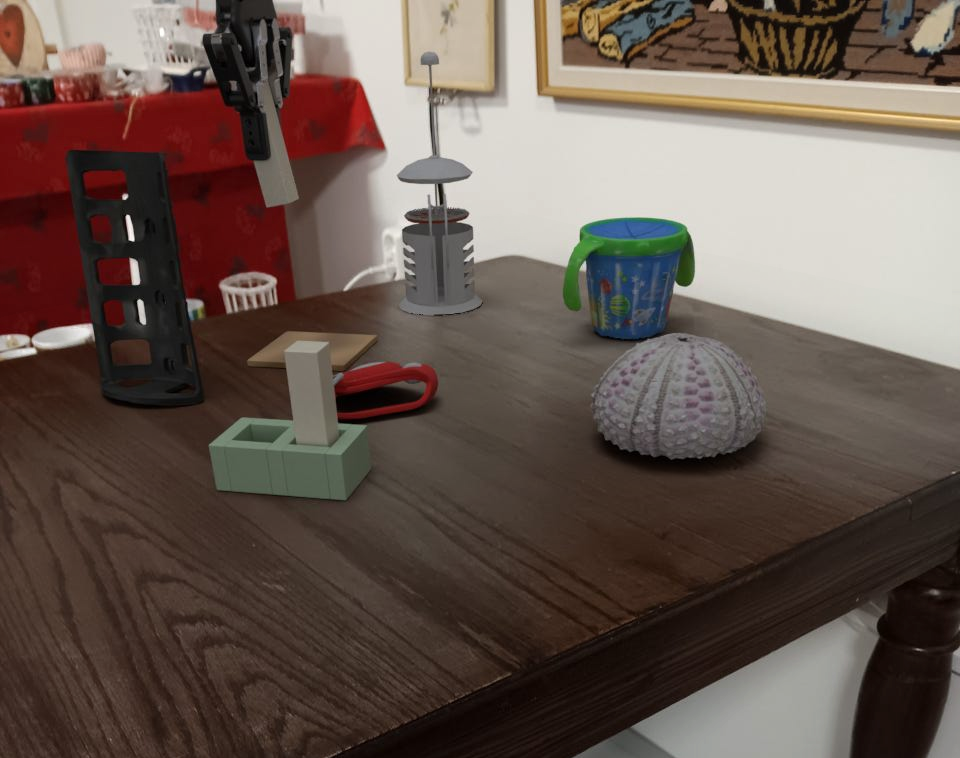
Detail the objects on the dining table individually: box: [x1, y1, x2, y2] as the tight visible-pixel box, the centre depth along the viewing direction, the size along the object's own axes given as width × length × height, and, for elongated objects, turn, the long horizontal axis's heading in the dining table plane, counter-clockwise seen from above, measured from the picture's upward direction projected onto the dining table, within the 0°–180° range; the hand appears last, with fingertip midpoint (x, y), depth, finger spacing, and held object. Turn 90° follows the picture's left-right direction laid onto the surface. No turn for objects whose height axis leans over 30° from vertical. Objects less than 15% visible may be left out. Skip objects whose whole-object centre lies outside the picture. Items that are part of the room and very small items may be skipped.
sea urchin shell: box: [589, 332, 768, 461], centre depth 76 cm, size 13×14×8 cm
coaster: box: [246, 330, 378, 372], centre depth 99 cm, size 10×10×1 cm
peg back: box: [251, 79, 300, 208], centre depth 90 cm, size 2×2×10 cm
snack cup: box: [562, 216, 696, 340], centre depth 100 cm, size 16×10×10 cm
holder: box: [65, 149, 205, 407], centre depth 86 cm, size 11×8×20 cm
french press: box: [396, 51, 483, 316], centre depth 106 cm, size 10×12×25 cm
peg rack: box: [208, 416, 372, 501], centre depth 72 cm, size 10×6×4 cm, turn 77°
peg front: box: [284, 341, 340, 447], centre depth 70 cm, size 2×2×10 cm
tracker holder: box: [333, 361, 439, 421], centre depth 85 cm, size 12×4×10 cm
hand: (265, 156), depth 90 cm, fingers closed on peg back, 2 cm apart
